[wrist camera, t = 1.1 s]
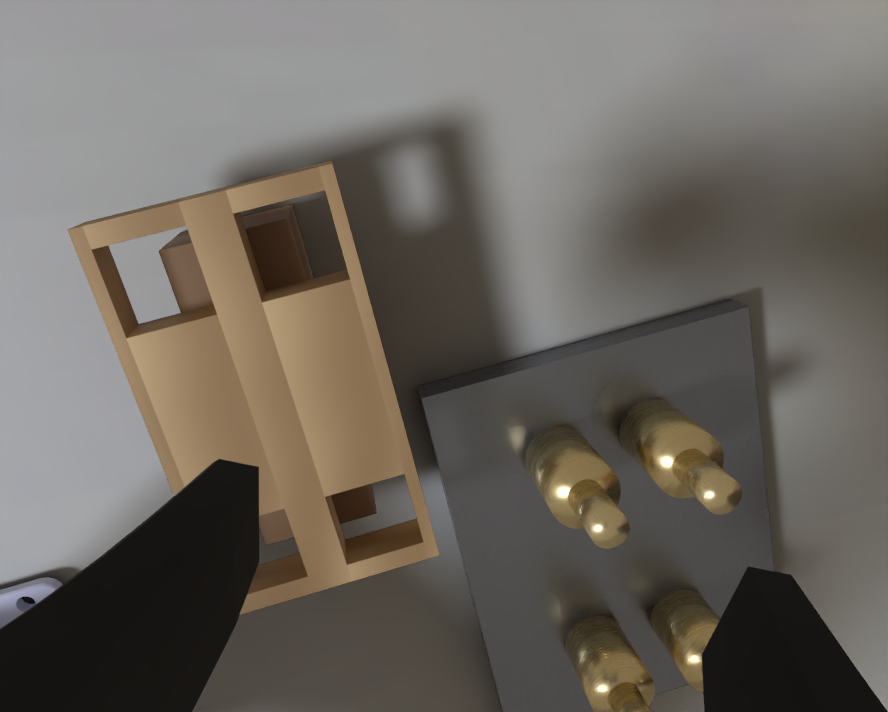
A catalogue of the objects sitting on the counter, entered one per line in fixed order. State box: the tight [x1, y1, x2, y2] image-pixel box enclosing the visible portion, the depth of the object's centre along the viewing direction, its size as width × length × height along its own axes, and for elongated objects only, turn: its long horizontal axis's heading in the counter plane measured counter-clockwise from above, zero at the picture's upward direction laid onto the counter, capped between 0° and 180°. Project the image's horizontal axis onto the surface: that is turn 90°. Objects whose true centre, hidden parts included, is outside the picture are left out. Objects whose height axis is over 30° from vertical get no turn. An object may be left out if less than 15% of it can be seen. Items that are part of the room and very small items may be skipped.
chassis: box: [417, 299, 774, 712], centre depth 22 cm, size 10×13×5 cm
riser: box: [159, 204, 377, 545], centre depth 20 cm, size 3×8×3 cm, turn 13°
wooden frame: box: [68, 161, 439, 615], centre depth 18 cm, size 6×10×1 cm, turn 13°
